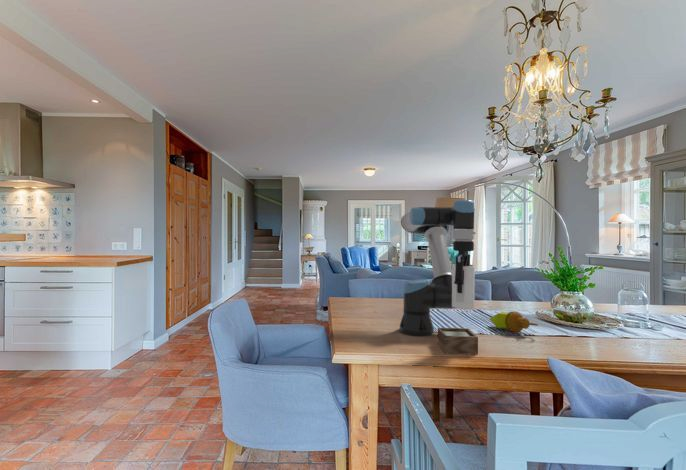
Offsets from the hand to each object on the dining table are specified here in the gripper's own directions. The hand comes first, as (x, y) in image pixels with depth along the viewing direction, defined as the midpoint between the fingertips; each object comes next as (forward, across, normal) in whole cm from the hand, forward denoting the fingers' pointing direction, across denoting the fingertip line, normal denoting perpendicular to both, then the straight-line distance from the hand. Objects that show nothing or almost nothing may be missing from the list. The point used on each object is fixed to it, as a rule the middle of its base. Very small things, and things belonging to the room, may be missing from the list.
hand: (462, 299), depth 131 cm
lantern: (+20, +36, -14) cm, 43 cm away
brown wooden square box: (+19, -2, +2) cm, 19 cm away
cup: (+3, 0, 0) cm, 3 cm away
